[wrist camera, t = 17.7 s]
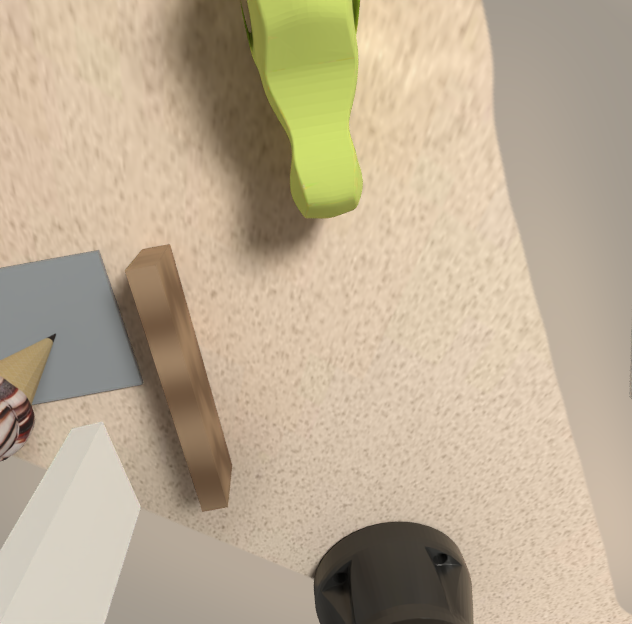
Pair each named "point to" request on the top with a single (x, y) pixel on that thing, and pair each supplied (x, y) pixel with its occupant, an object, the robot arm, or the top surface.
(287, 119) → the toy
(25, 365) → the ice cream cone
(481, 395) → the top surface
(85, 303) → the grey mat
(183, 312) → the walnut wall
